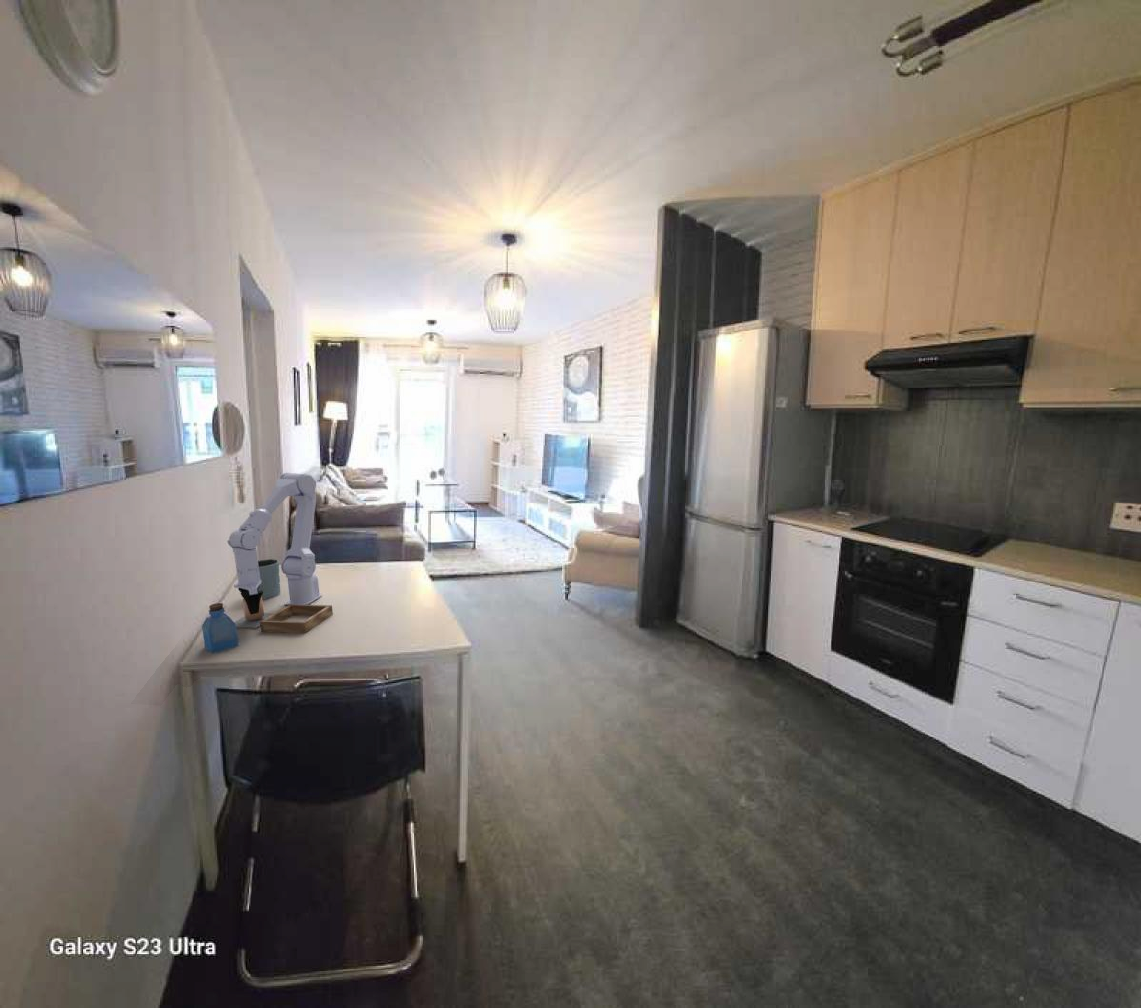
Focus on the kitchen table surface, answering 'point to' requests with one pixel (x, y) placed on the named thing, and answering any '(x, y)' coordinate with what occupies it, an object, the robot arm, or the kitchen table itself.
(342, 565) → the kitchen table surface
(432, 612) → the kitchen table surface
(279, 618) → the wooden square frame
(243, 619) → the slate mat
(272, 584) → the green pot
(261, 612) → the terracotta pot
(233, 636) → the perfume bottle
